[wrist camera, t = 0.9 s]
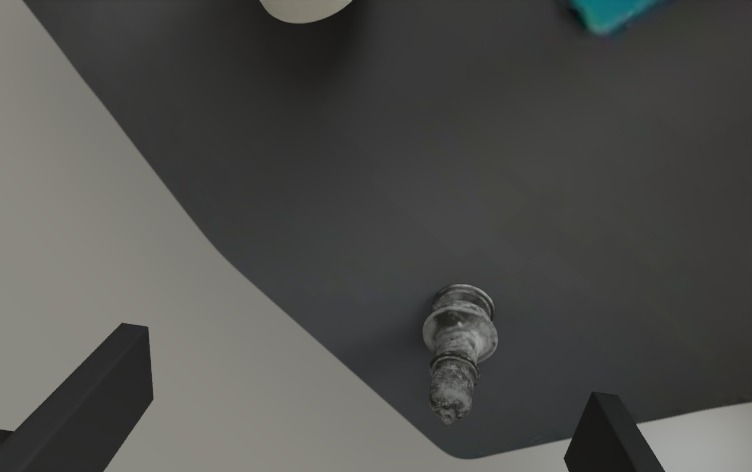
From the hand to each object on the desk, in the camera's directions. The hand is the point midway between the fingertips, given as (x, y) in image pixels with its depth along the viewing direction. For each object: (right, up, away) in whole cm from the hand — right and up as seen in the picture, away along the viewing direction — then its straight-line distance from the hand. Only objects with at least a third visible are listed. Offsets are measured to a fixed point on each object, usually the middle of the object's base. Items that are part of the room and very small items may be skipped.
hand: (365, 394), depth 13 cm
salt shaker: (+8, -1, +25) cm, 27 cm away
